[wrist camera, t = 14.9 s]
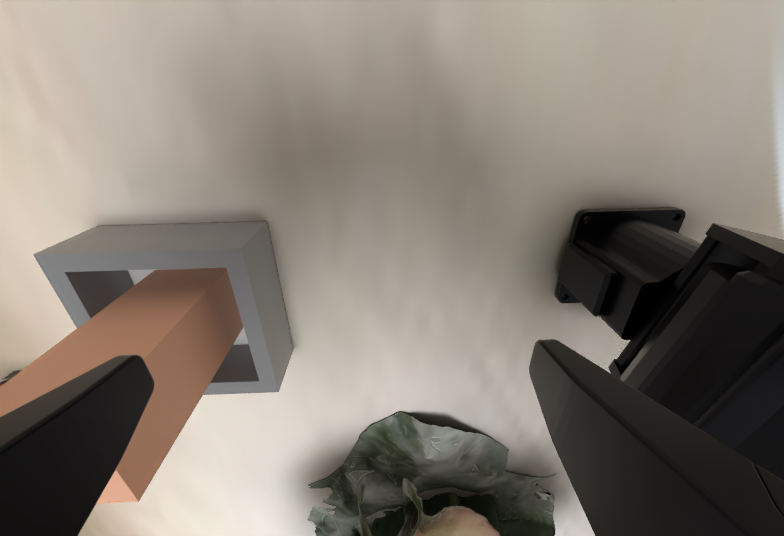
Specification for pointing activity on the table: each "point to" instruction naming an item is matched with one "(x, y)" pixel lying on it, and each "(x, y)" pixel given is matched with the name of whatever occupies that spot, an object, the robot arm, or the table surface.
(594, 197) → the table surface
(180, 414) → the terracotta block
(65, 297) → the well
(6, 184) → the table surface
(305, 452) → the table surface
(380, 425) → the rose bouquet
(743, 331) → the robot arm
